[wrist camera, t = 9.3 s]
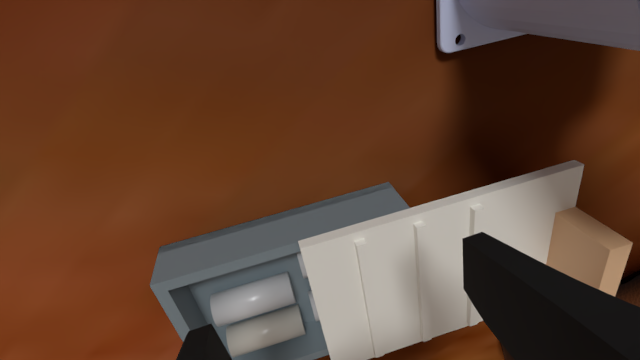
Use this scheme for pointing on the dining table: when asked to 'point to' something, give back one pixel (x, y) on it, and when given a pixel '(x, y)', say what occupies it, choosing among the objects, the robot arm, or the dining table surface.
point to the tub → (259, 277)
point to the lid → (449, 259)
